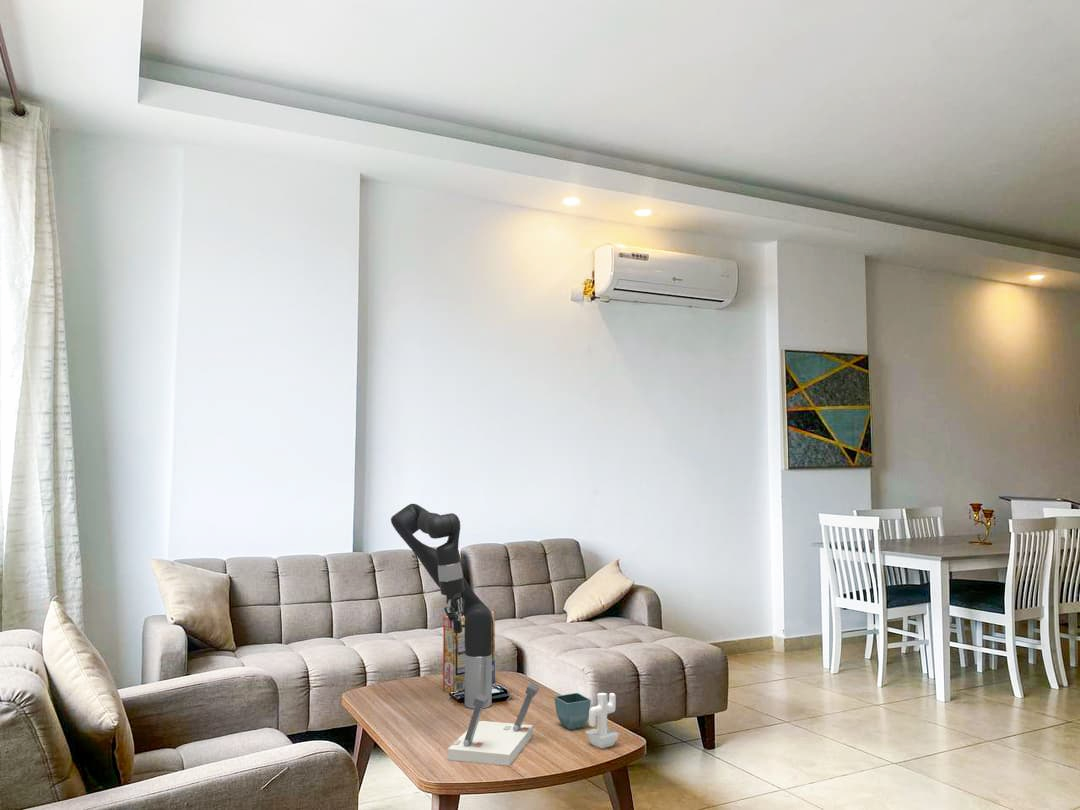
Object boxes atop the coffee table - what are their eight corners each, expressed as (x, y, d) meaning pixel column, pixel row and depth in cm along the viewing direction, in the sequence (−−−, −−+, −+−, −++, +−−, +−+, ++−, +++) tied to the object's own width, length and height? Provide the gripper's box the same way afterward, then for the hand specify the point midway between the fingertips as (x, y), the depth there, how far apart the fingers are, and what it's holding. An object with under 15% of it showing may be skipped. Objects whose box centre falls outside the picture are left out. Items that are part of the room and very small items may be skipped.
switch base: (477, 730, 257) (477, 719, 258) (533, 735, 253) (533, 724, 253) (447, 759, 232) (447, 747, 232) (509, 765, 228) (509, 753, 228)
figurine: (582, 744, 245) (582, 693, 246) (606, 738, 250) (606, 688, 251) (598, 751, 239) (598, 698, 240) (622, 745, 245) (622, 693, 245)
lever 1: (465, 739, 239) (480, 693, 239) (474, 742, 238) (488, 697, 238) (460, 744, 234) (475, 698, 234) (469, 748, 234) (484, 701, 234)
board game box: (484, 680, 315) (485, 608, 316) (495, 683, 310) (496, 610, 312) (442, 691, 300) (442, 615, 302) (452, 694, 296) (453, 618, 298)
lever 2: (514, 724, 252) (531, 682, 251) (522, 728, 251) (539, 687, 251) (510, 728, 248) (527, 686, 247) (518, 733, 247) (535, 691, 246)
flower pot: (567, 733, 255) (567, 703, 256) (553, 724, 263) (553, 696, 264) (591, 728, 259) (591, 699, 260) (577, 720, 267) (577, 692, 268)
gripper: (446, 575, 268) (454, 628, 267) (432, 583, 255) (440, 639, 254) (468, 572, 266) (476, 626, 265) (455, 580, 253) (463, 637, 253)
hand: (458, 632), depth 260 cm, fingers closed
